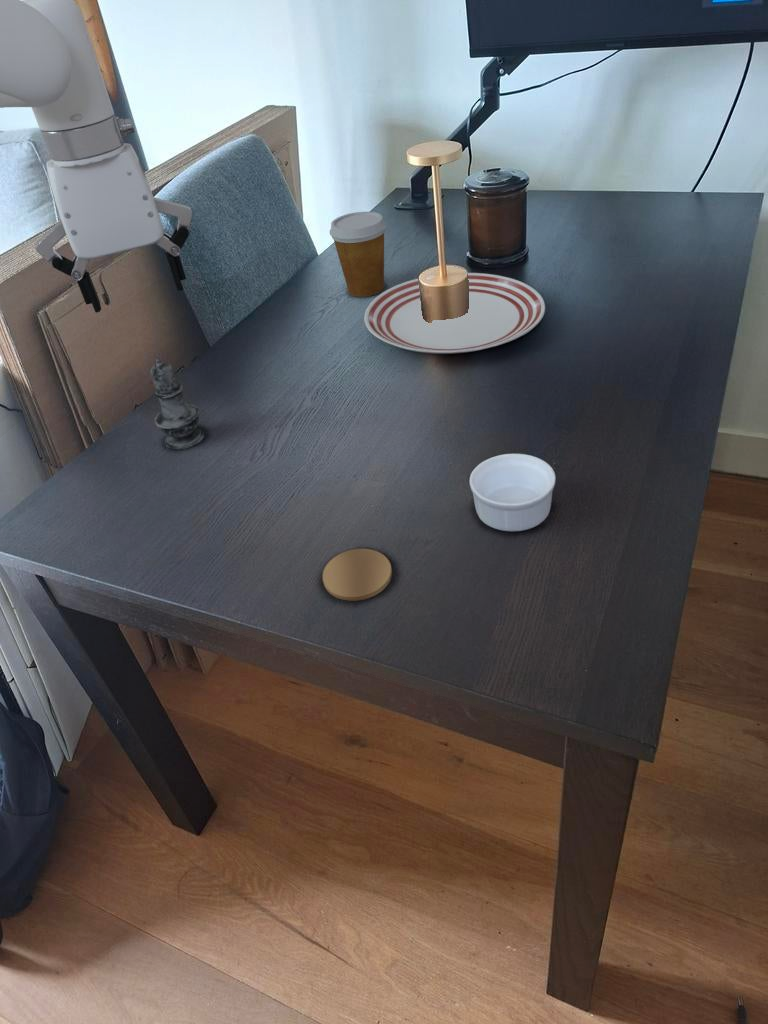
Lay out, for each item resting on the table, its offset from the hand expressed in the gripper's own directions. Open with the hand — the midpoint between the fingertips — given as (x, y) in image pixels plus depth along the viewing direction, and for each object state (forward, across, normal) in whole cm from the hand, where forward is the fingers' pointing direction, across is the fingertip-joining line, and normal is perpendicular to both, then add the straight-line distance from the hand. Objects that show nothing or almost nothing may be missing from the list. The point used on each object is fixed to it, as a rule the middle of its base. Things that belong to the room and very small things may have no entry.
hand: (139, 297), depth 89 cm
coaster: (+20, -12, +36) cm, 43 cm away
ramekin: (+20, -31, +34) cm, 50 cm away
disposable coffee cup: (+21, -36, -32) cm, 53 cm away
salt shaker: (+20, 0, 0) cm, 20 cm away
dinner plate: (+20, -44, -10) cm, 49 cm away
